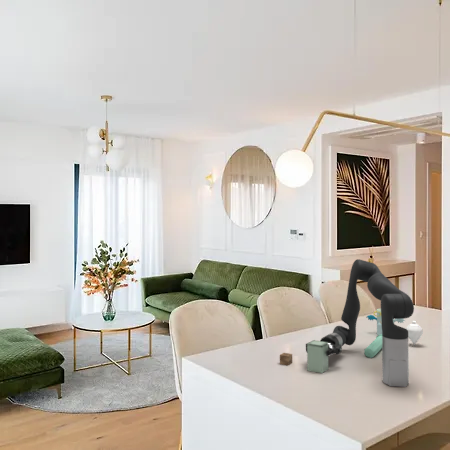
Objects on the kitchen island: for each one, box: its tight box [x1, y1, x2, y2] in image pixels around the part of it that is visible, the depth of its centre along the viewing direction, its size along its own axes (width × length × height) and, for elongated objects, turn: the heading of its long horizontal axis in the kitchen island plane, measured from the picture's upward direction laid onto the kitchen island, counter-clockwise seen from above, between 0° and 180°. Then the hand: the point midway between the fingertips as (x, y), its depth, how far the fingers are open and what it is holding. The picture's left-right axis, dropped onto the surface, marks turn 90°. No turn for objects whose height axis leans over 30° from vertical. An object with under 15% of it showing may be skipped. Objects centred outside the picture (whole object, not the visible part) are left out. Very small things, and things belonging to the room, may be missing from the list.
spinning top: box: [405, 320, 424, 347], centre depth 228 cm, size 8×8×12 cm
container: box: [363, 334, 382, 359], centre depth 219 cm, size 6×6×25 cm
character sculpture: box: [366, 308, 406, 336], centre depth 249 cm, size 20×12×13 cm, turn 60°
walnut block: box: [279, 352, 293, 367], centre depth 201 cm, size 4×4×4 cm
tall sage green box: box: [306, 339, 329, 374], centre depth 192 cm, size 6×6×11 cm
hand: (317, 351), depth 191 cm, fingers open, 8 cm apart
